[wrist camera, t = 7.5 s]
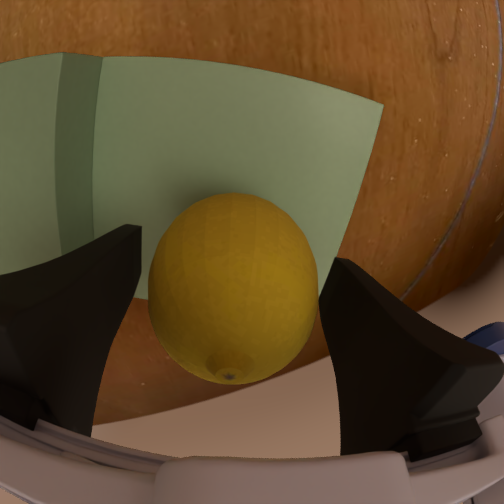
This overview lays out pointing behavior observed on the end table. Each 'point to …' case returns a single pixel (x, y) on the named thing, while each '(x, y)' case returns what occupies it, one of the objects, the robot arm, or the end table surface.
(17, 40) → the end table surface
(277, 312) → the lemon
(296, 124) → the step shelf
